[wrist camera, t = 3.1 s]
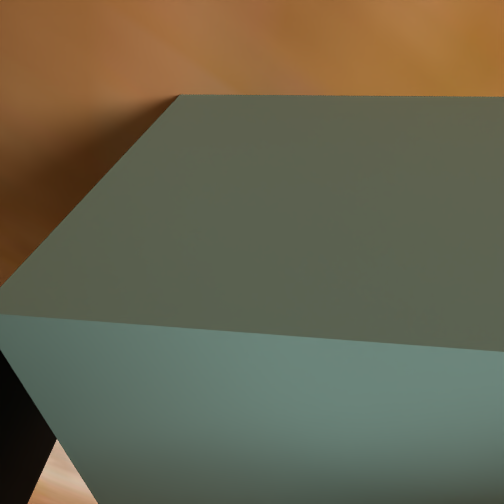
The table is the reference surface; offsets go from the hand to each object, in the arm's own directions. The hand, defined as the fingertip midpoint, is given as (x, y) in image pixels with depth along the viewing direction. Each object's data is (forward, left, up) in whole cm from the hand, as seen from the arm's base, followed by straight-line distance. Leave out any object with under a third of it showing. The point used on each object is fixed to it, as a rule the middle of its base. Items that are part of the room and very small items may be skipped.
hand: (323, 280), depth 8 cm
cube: (0, 0, -2) cm, 2 cm away
